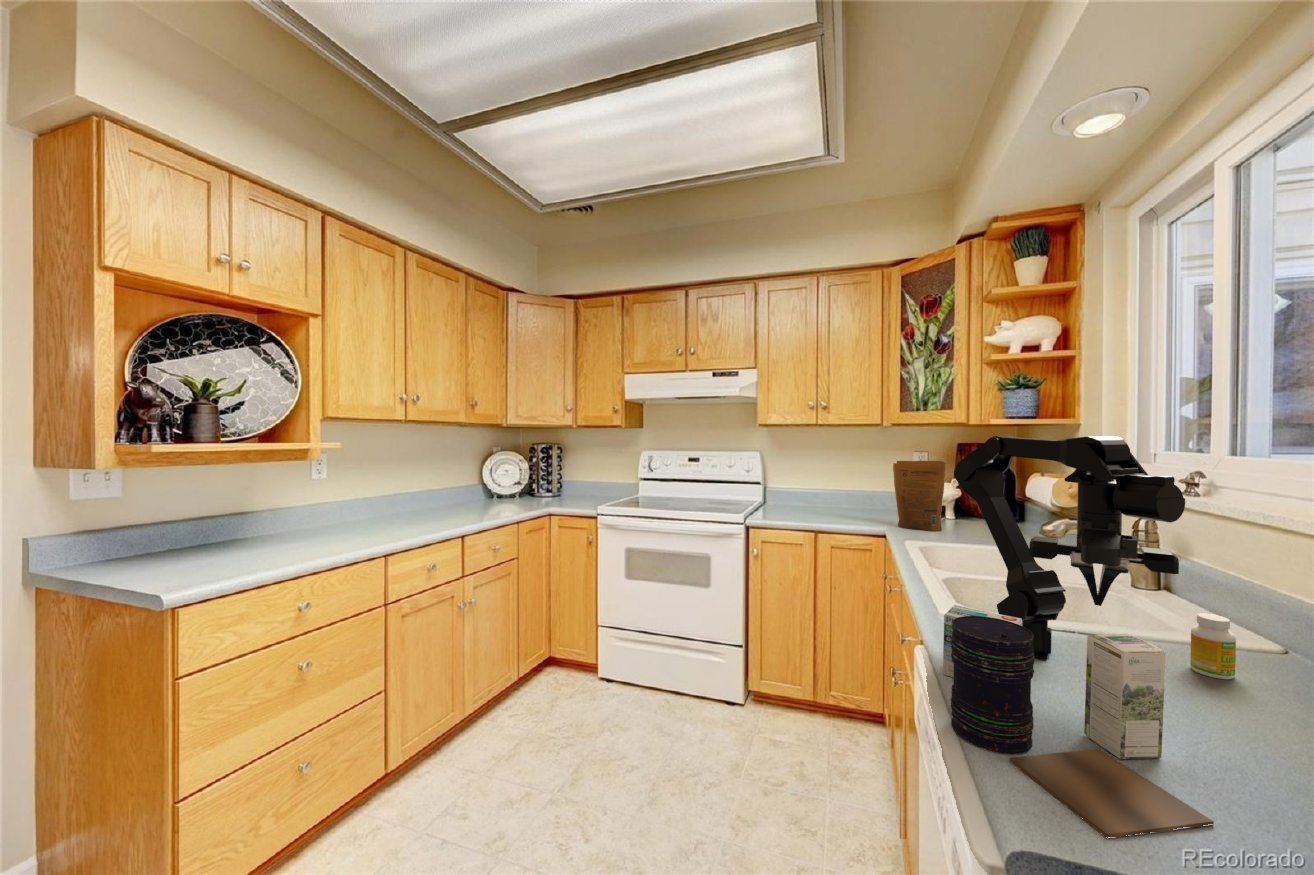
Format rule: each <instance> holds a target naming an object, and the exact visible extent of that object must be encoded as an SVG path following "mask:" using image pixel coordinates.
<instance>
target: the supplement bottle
mask: <svg viewBox="0 0 1314 875" xmlns="http://www.w3.org/2000/svg"><path fill="white" fill-rule="evenodd" d="M1196 623H1197V624H1196V625H1194V626H1192V627H1191V630H1190V657H1189V658H1190V659H1189V661H1190V662H1189V663H1190V666H1189V667H1190V668H1191V670H1193V672H1196V673H1198V674H1200V675H1203V676H1206V677H1210V678H1214V679H1220V680H1232V679H1234V678H1235V677H1236V657H1237V654H1236V653H1237V651H1236V649H1237V638H1236V635H1235V633H1233V632H1231V631H1230V629H1231V620H1230V619H1229V618H1227V617H1225V616H1221V615H1218V614H1214V613H1213V614H1211V613H1205V612H1204V613H1203V612H1202V613H1200V612H1199V613H1197V614H1196Z"/></svg>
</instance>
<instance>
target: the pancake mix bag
mask: <svg viewBox="0 0 1314 875" xmlns="http://www.w3.org/2000/svg"><path fill="white" fill-rule="evenodd" d="M946 469H947V462H945V461H943V460H942V461H941V460H897V461H896V463H895V462H894V463H893V465H892V471H893V487H894V494H895V500H896V510H897V516H898V524H897V527H899V528H901V529H906V530H919V531H927V532H942V531H943V526H942V519H941V517H942V511H943V510H942V509H943V498H944V497H943V496H944V492H945V478H946V474H947V473H946V472H947V470H946Z"/></svg>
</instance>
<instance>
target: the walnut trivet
mask: <svg viewBox="0 0 1314 875" xmlns="http://www.w3.org/2000/svg"><path fill="white" fill-rule="evenodd" d="M1009 762H1010V763H1011V764H1013V765H1014V766H1016V768H1017V769H1019V770H1020V771H1022V772H1023V773H1024V772H1025V773H1024V774H1025V775H1027V777H1029V778H1030V779H1031V780H1033V781H1034V782H1035V783H1037V784H1038V785H1039V786H1040V787H1042V788H1043V789H1044V790H1045V791H1047V792H1048V793H1049V794H1050V795H1052V796H1053V797H1054V798H1055V799H1056V800H1058V801H1059V802H1060V803H1061V804H1063V805H1064V806H1065V807H1067V808H1068V810H1070V809H1071V810H1070V811H1071V812H1073V813H1075V815H1077V816H1078V817H1079V818H1080V819H1082V818H1083V819H1082V820H1083V821H1084V822H1085V821H1086V822H1085V823H1087V824H1088V823H1089V824H1088V825H1089V826H1090V825H1091V826H1090V827H1092V828H1093V827H1094V828H1095V829H1096V830H1095V831H1096V832H1097V833H1099V832H1100V833H1102V834H1103V835H1104V836H1105V837H1107V838H1108V837H1119V838H1121V837H1120V836H1126V835H1127V837H1129V836H1128V835H1135V834H1140V833H1141V834H1142V833H1150V832H1159V833H1162V832H1161V831H1168V832H1170V831H1169V830H1173V829H1177V828H1183V827H1200V828H1202V827H1201V826H1203V825H1208V824H1213V825H1214V820H1212V819H1211V818H1209V817H1208V816H1206V815H1205V814H1204V813H1201V812H1200V811H1198V810H1197V809H1195V808H1194V807H1192V806H1190V805H1189V804H1188V803H1186V802H1184V801H1182V800H1181V799H1179V798H1178V797H1176V796H1175V795H1174V794H1172V793H1170V792H1168V791H1167V790H1165V789H1164V788H1162V787H1161V786H1159V785H1157V784H1156V783H1154V782H1152V781H1151V780H1149V779H1148V778H1146V777H1145V776H1143V775H1142V774H1140V773H1138V772H1137V771H1135V770H1134V769H1132V768H1131V767H1130V766H1127V765H1126V764H1124V763H1123V762H1121V761H1119V760H1118V759H1116V758H1114V757H1113V756H1112V755H1110V754H1108V753H1107V752H1105V751H1103V750H1102V749H1101V748H1094V749H1083V750H1082V749H1081V750H1074V751H1072V750H1071V751H1063V752H1055V753H1053V752H1052V753H1043V754H1033V755H1024V756H1014V757H1012V756H1011V757H1010V758H1009ZM1094 828H1093V829H1094ZM1100 833H1099V834H1100ZM1102 834H1101V835H1102ZM1103 835H1102V836H1103ZM1104 836H1103V837H1104ZM1135 836H1136V835H1135ZM1105 837H1104V838H1105ZM1107 838H1106V839H1107Z"/></svg>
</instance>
